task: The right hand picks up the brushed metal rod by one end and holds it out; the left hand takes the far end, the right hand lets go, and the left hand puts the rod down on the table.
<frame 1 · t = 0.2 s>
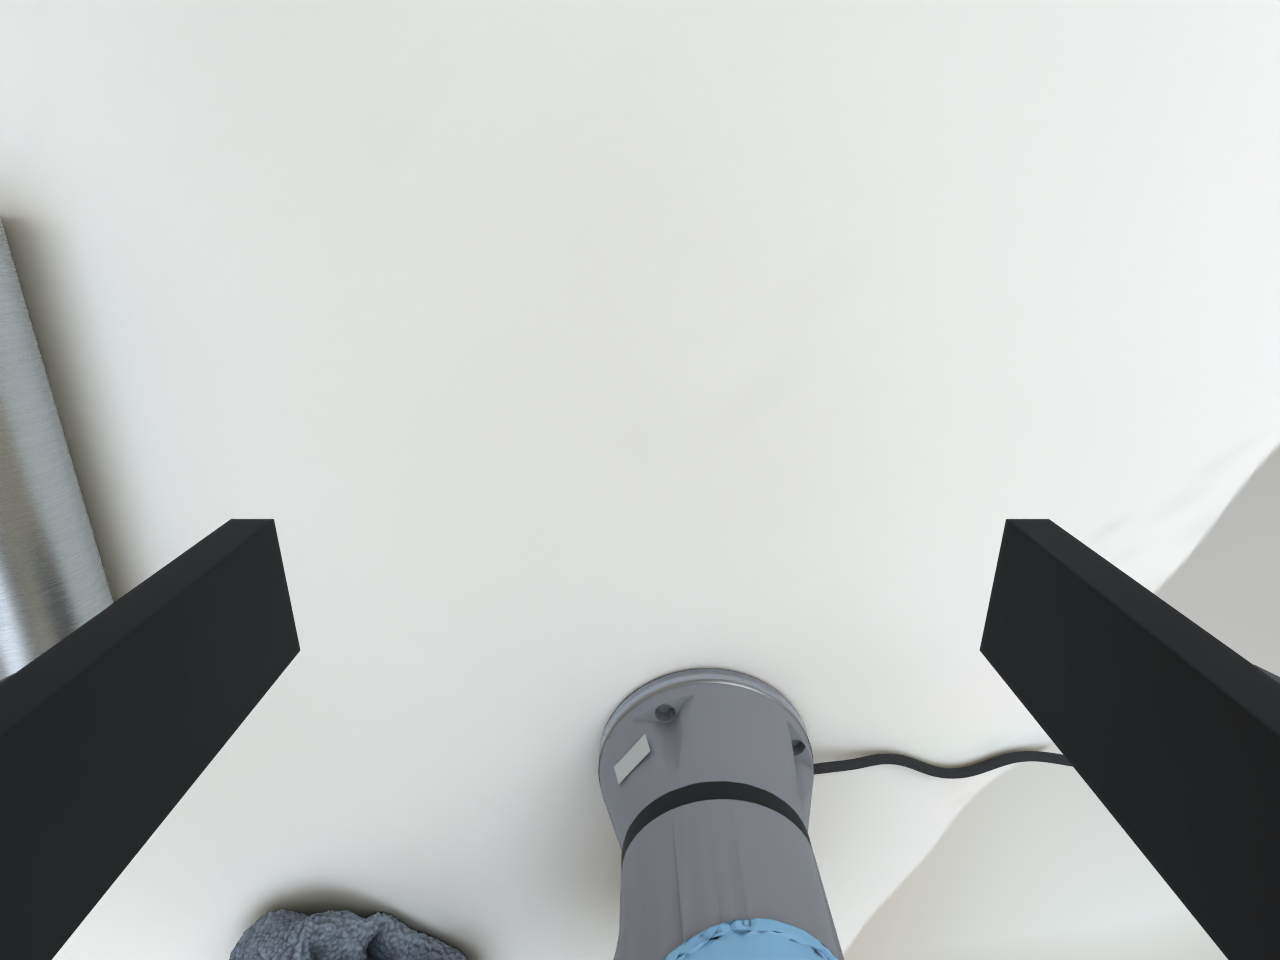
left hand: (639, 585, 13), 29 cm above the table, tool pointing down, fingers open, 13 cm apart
koala plush: (350, 958, 57), on the table
rod: (40, 450, 42), on the table
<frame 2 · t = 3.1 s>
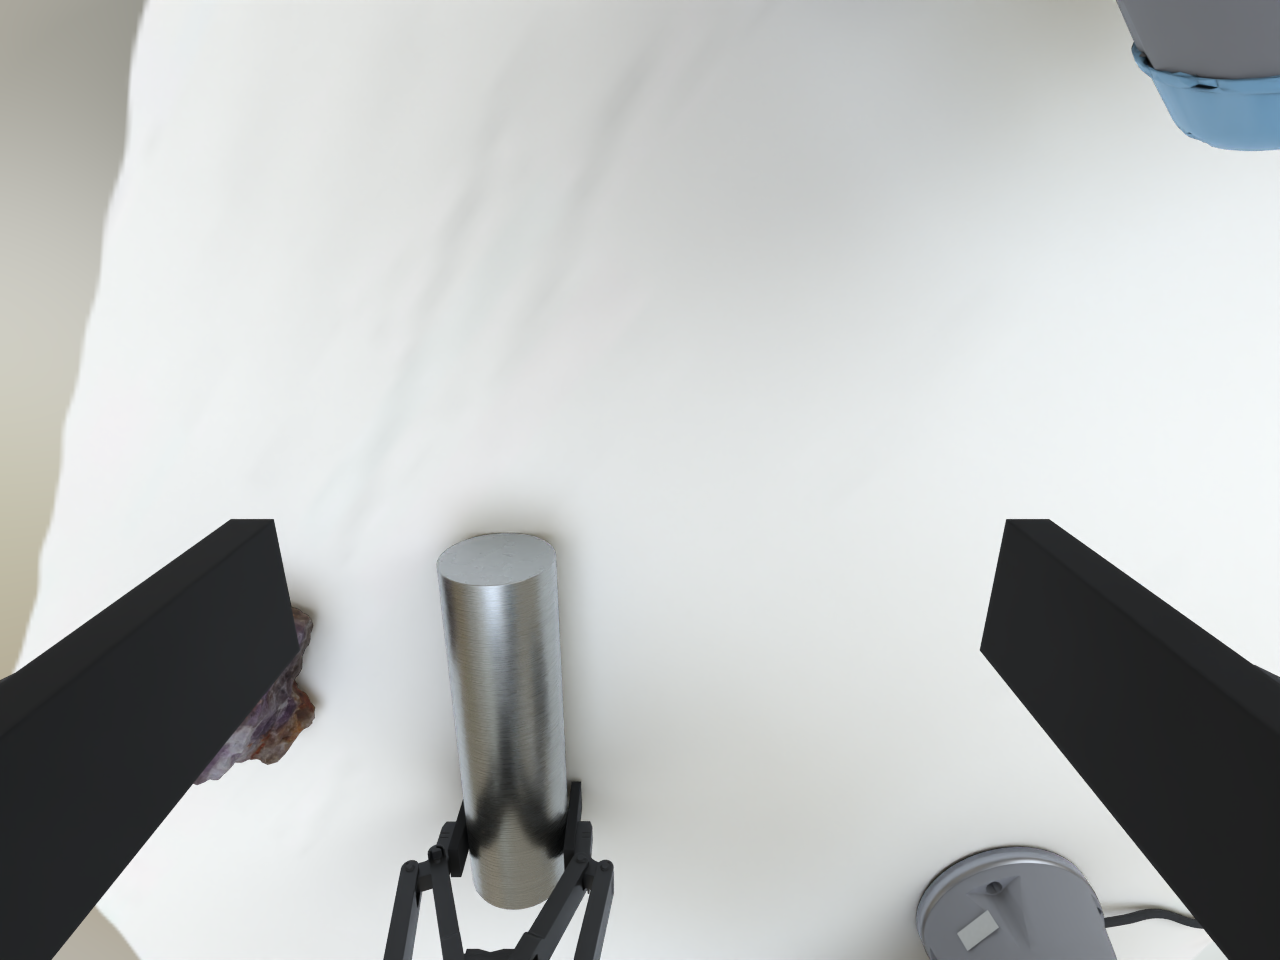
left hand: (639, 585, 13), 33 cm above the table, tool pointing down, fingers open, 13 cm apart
right hand: (525, 794, 56), fingers closed on rod, 8 cm apart
rock: (264, 654, 52), on the table
rod: (519, 691, 53), on the table, touching right hand
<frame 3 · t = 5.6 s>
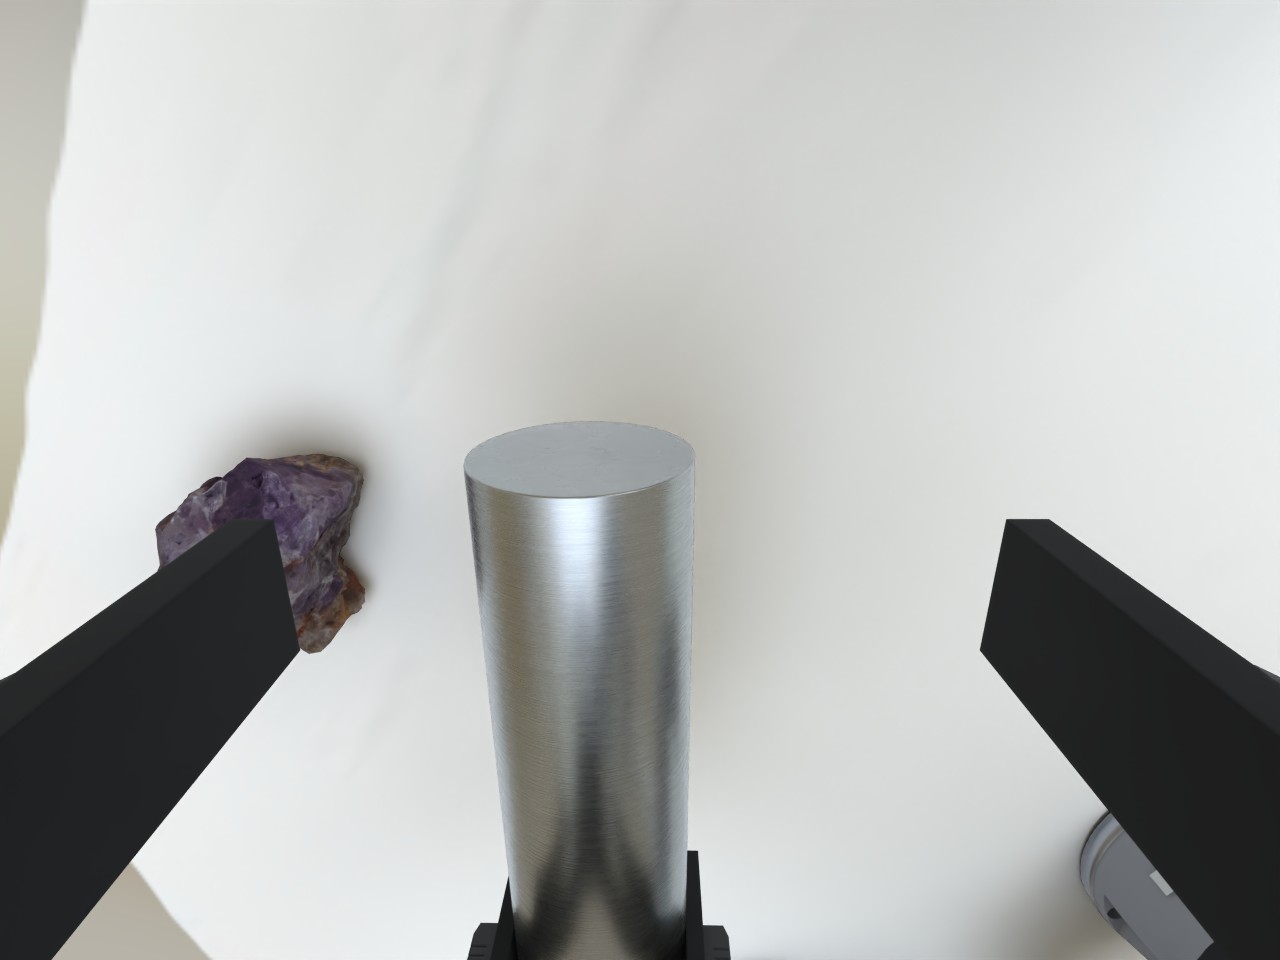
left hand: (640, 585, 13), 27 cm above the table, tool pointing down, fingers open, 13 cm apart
rock: (303, 523, 42), on the table
rod: (601, 705, 32), point 12 cm above the table, touching right hand
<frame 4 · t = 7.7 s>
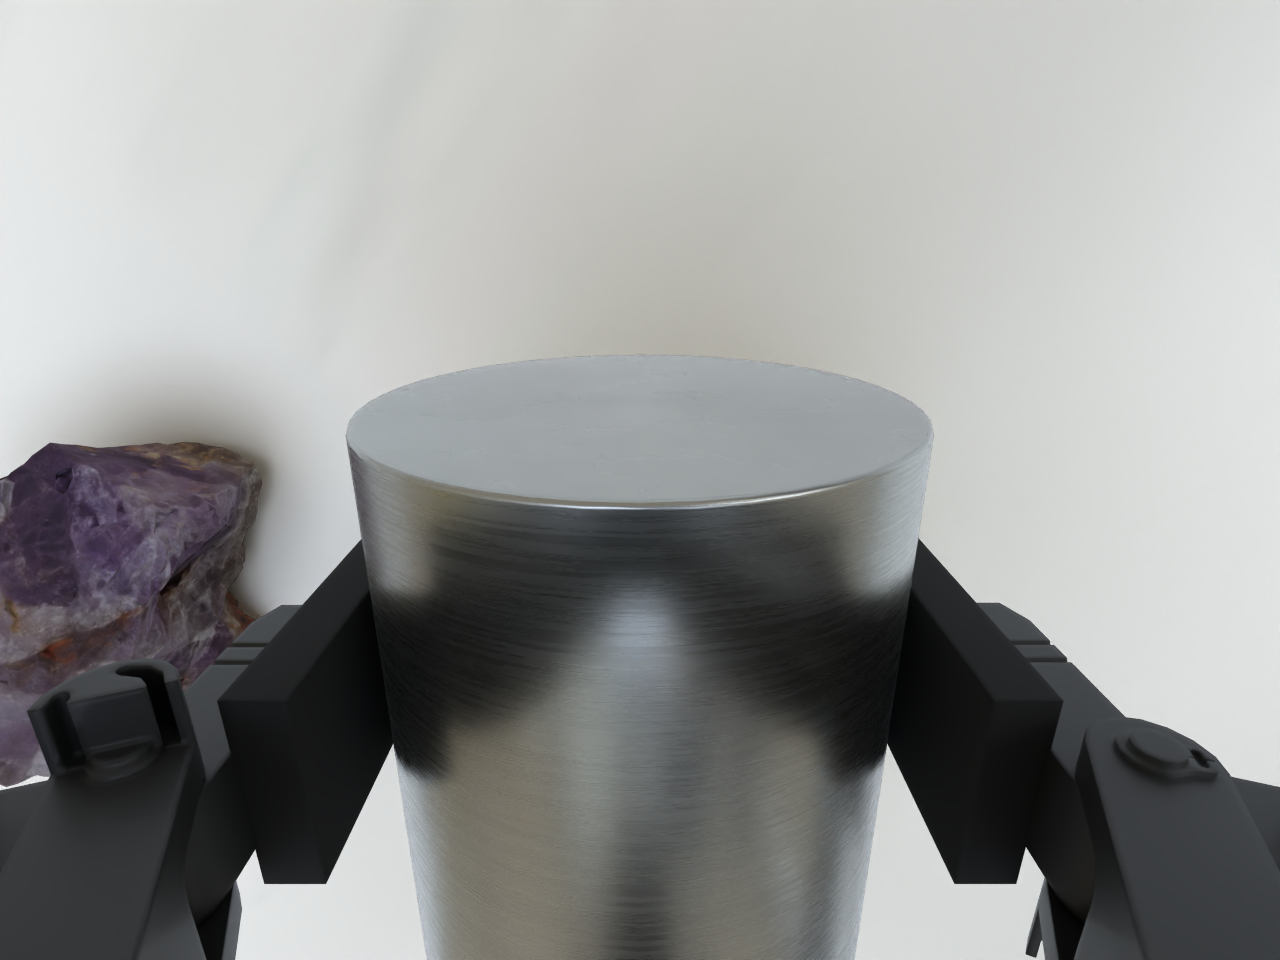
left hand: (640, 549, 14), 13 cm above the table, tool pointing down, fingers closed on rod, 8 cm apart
rock: (177, 547, 28), on the table
rod: (640, 876, 18), point 12 cm above the table, touching left hand, right hand
when the right hand's fingers open (13 cm above the table, at t = 8.6 s): rod stays where it is, held by the left hand.
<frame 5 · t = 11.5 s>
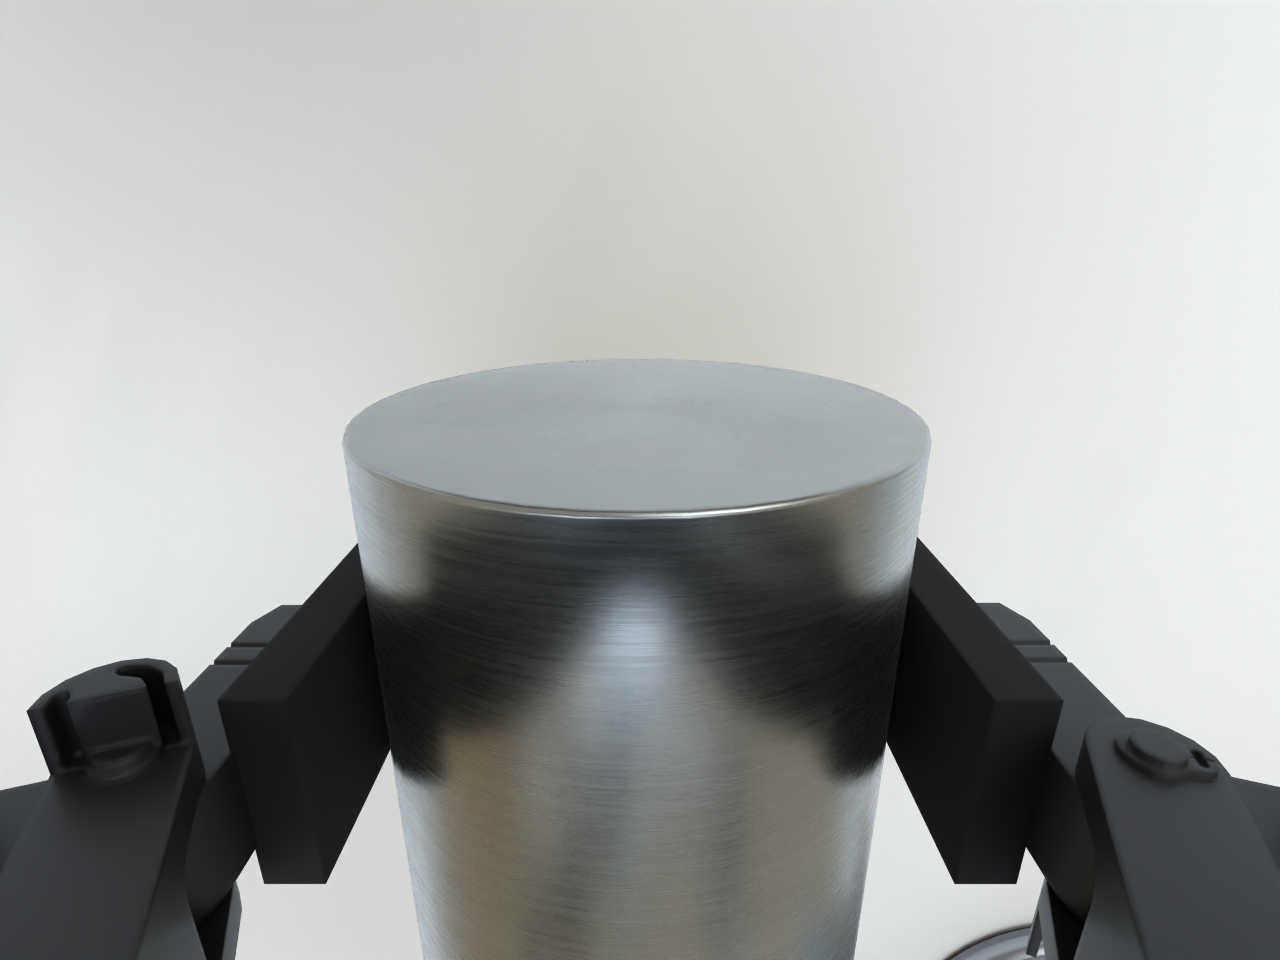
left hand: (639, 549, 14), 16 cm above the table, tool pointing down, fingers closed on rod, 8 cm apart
rod: (639, 879, 18), point 15 cm above the table, touching left hand
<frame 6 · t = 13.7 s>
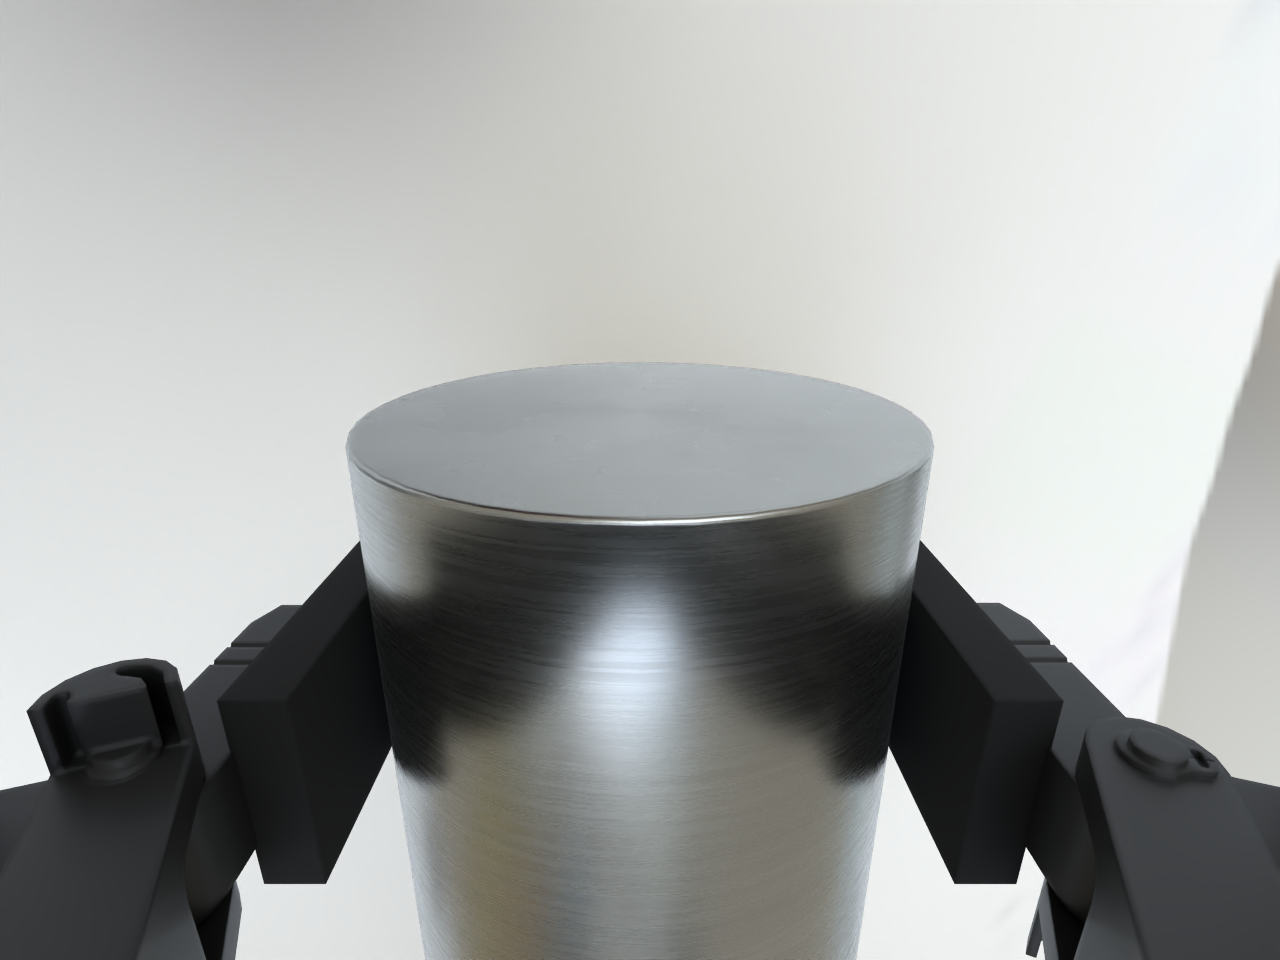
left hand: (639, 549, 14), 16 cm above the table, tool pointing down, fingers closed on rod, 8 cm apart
rod: (640, 882, 18), point 15 cm above the table, touching left hand
when the left hand's fingers open (2 cm above the table, at t = 15.7 s): rod drops 1 cm, on the table.
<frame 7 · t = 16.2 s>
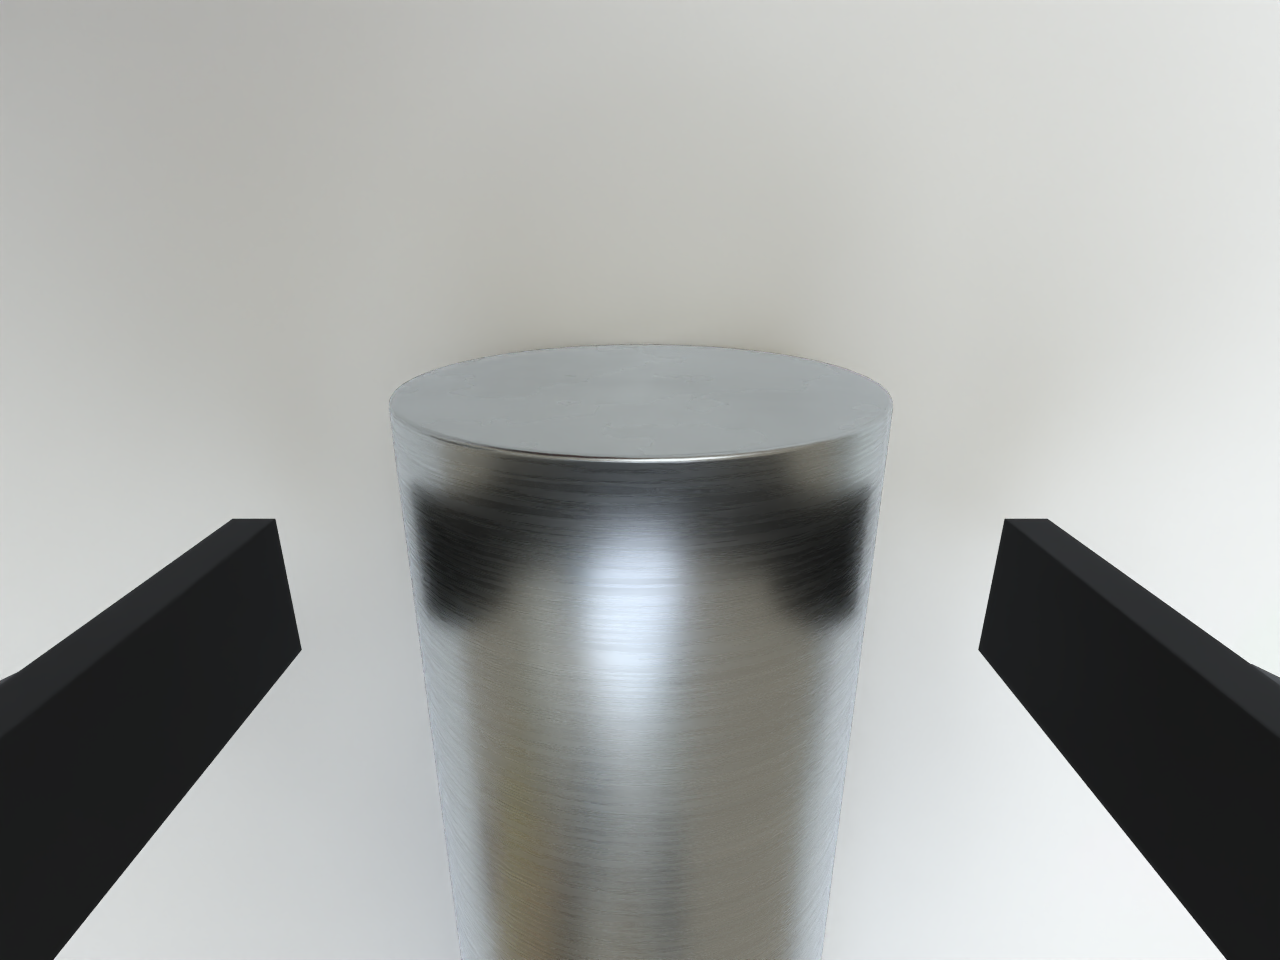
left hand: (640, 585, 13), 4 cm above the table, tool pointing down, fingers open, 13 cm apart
rod: (642, 829, 19), on the table
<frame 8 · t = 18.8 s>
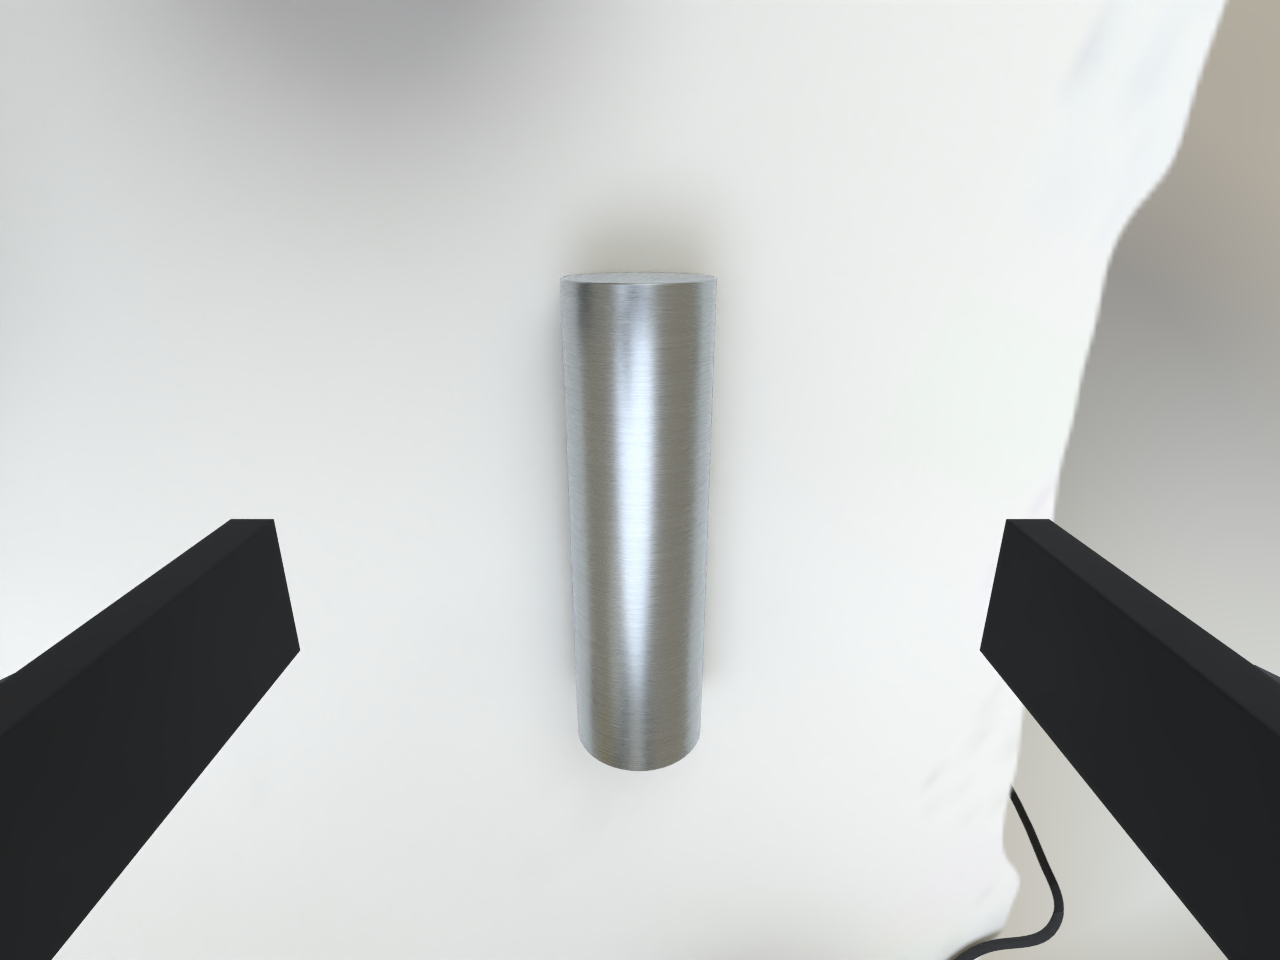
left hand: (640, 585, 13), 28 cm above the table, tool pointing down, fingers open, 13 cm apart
rod: (639, 503, 42), on the table
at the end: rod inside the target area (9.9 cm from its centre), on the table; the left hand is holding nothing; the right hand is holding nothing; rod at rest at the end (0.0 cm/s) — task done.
